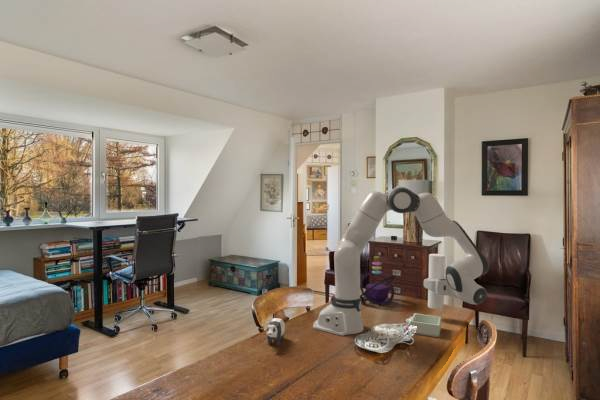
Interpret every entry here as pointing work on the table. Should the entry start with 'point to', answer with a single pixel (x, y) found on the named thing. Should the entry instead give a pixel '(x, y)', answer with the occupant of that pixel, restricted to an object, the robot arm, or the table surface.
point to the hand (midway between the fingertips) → (435, 279)
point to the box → (426, 324)
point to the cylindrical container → (436, 272)
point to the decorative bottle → (377, 286)
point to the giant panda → (275, 331)
